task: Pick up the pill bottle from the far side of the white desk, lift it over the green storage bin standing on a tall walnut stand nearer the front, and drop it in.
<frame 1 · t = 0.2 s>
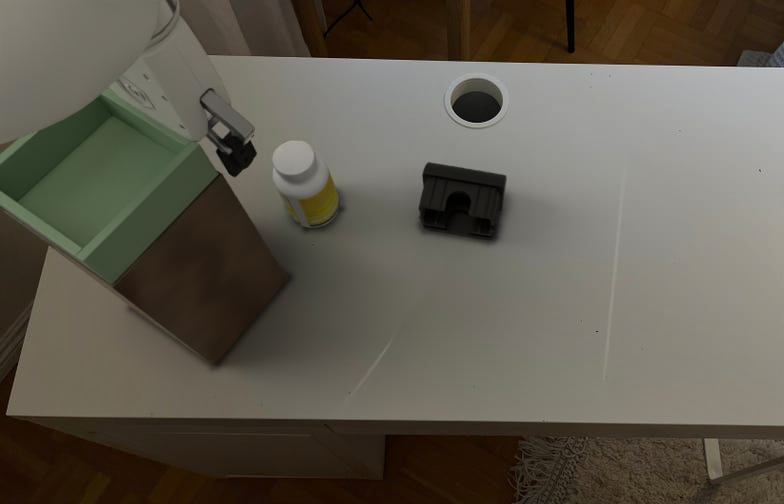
hand: (204, 140, 61), 22 cm above the table, tool pointing down, fingers open, 9 cm apart
stand: (210, 292, 78), on the table
pill bottle: (315, 208, 84), on the table
end cap: (462, 211, 84), on the table
green storage bin: (114, 191, 56), resting on stand
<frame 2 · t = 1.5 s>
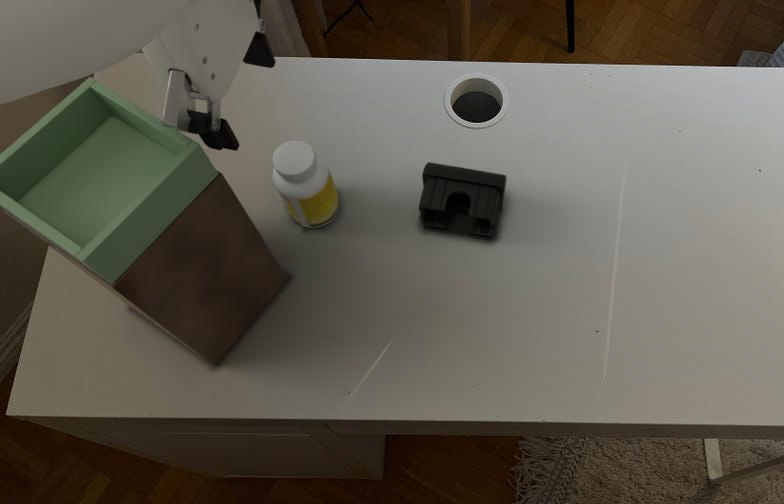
hand: (242, 103, 61), 24 cm above the table, tool pointing down, fingers open, 9 cm apart
nothing on the table moved.
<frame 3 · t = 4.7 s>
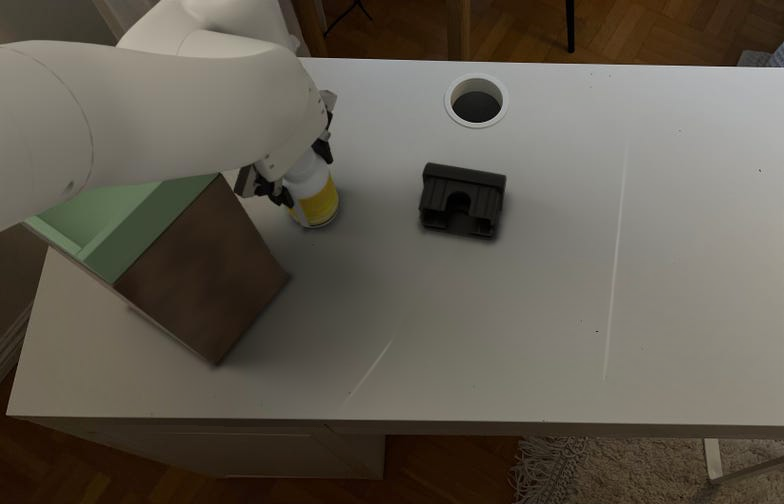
hand: (302, 178, 77), 7 cm above the table, tool pointing down, fingers closed on pill bottle, 6 cm apart
pill bottle: (315, 208, 84), on the table, touching gripper
everything else where it was.
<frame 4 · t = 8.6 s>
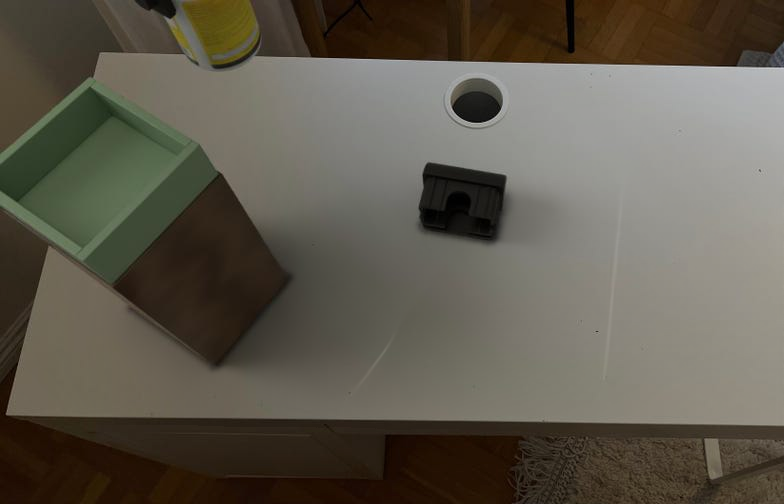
pill bottle: (225, 47, 55), point 31 cm above the table, touching gripper
everything else where it was.
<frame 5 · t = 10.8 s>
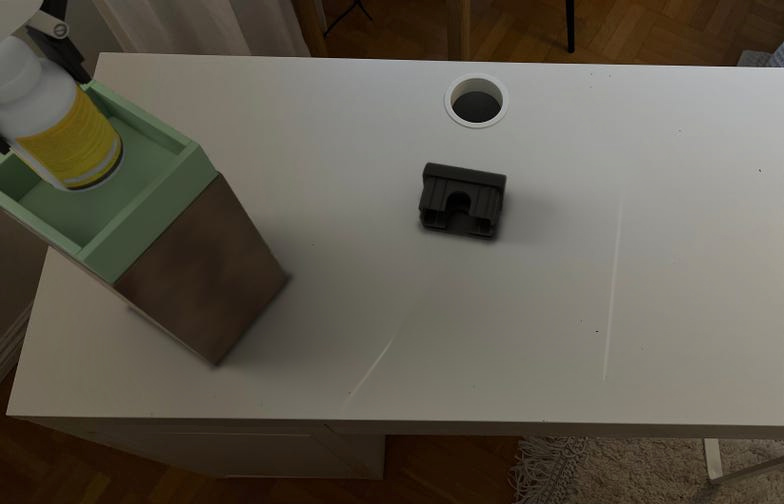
hand: (34, 106, 46), 36 cm above the table, tool pointing down, fingers closed on pill bottle, 6 cm apart
pill bottle: (87, 162, 53), point 28 cm above the table, touching gripper
everything else where it was.
when the fingers open (32 cm above the table, at t = 12.4 s): pill bottle stays where it is, resting on green storage bin.
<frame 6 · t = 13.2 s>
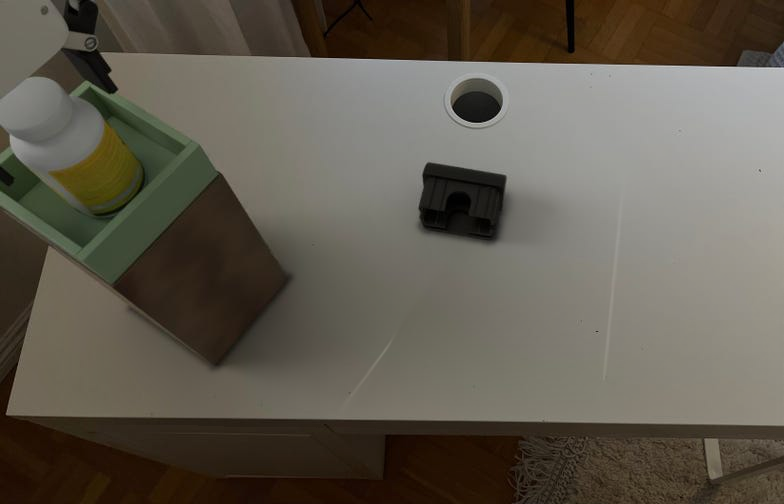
hand: (52, 128, 48), 33 cm above the table, tool pointing down, fingers open, 9 cm apart
pill bottle: (111, 189, 56), point 24 cm above the table, touching green storage bin
everything else where it was.
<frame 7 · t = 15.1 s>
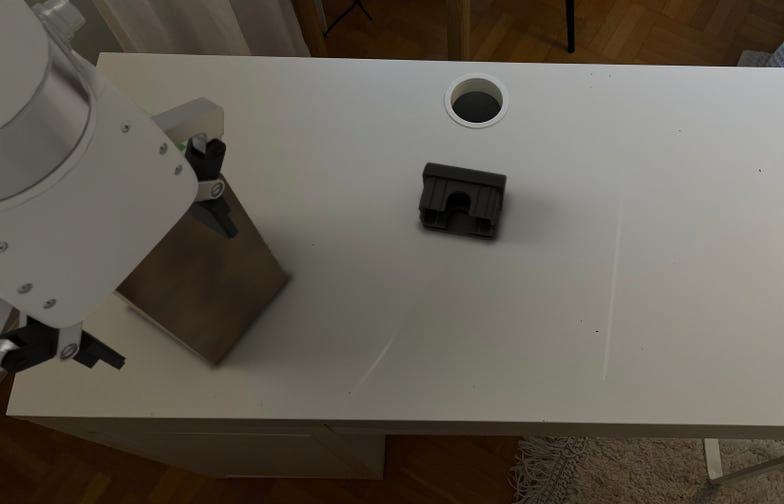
hand: (163, 286, 39), 37 cm above the table, tool pointing down, fingers open, 9 cm apart
nothing on the table moved.
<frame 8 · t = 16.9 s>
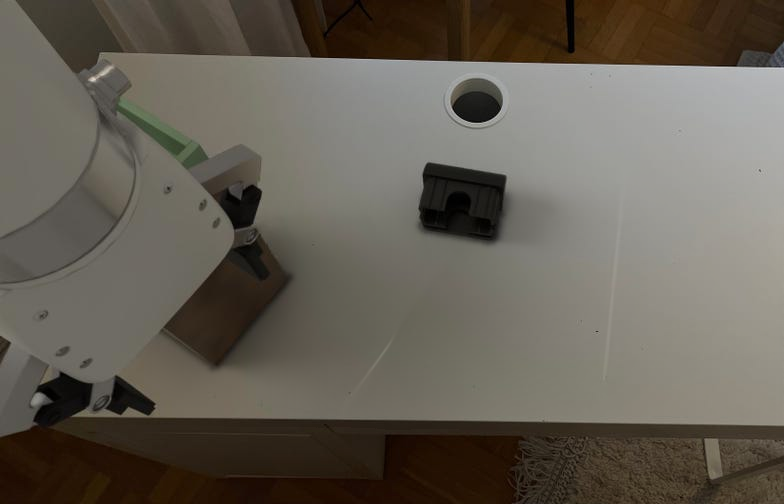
hand: (194, 328, 39), 36 cm above the table, tool pointing down, fingers open, 9 cm apart
nothing on the table moved.
at the end: pill bottle inside the target area on the green storage bin (0.0 cm from its centre), point 0.4 cm above the green storage bin's base; the gripper is holding nothing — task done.
